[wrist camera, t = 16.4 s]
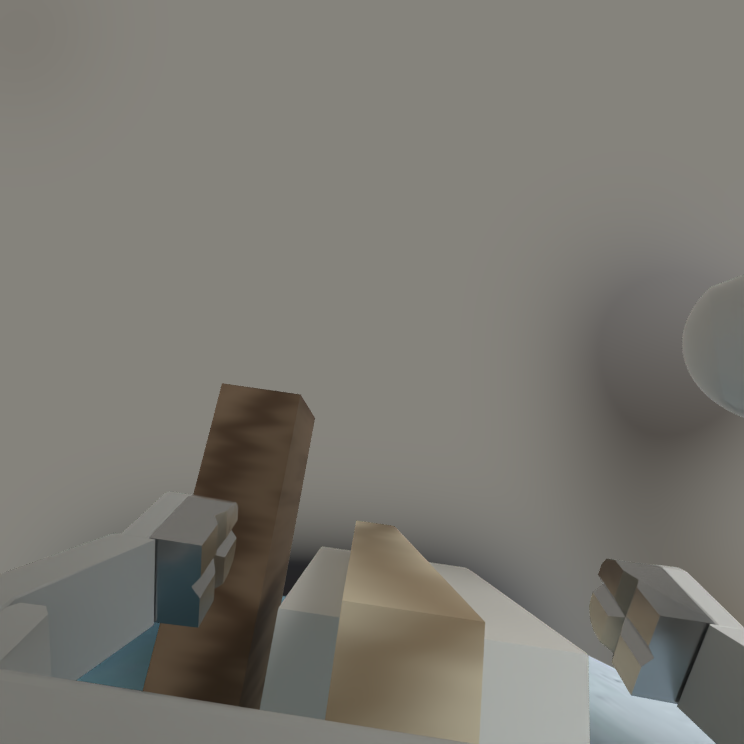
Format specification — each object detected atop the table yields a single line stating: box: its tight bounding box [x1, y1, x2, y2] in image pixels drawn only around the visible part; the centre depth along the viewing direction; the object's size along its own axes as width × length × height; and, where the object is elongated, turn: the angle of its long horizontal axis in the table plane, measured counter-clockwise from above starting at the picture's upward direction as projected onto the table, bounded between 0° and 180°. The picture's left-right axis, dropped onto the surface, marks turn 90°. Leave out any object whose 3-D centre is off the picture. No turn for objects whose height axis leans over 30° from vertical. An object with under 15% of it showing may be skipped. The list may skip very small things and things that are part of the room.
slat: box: [325, 521, 485, 744], centre depth 19 cm, size 3×24×2 cm, turn 1°
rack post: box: [143, 384, 315, 710], centre depth 31 cm, size 6×10×26 cm, turn 2°
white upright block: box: [260, 547, 590, 744], centre depth 22 cm, size 12×18×15 cm, turn 2°
